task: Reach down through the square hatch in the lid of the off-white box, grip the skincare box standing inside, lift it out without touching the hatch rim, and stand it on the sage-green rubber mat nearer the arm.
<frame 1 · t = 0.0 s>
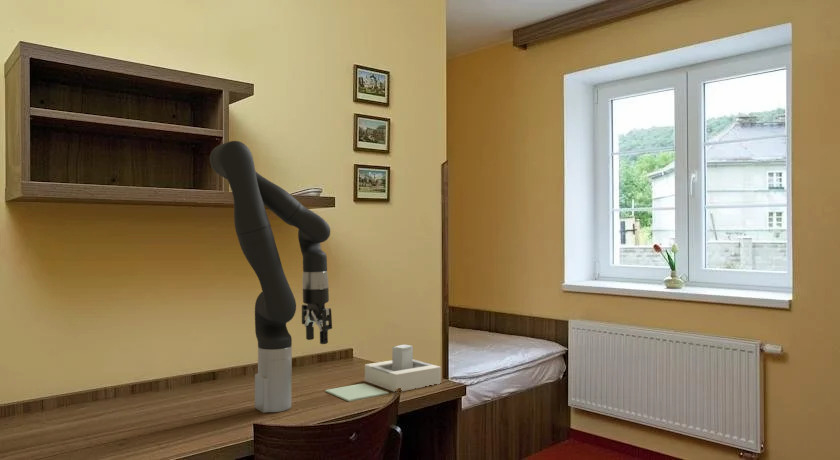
hand: (316, 341, 176), 17 cm above the table, tool pointing down, fingers open, 8 cm apart
access box: (402, 382, 197), on the table
place mat: (356, 392, 184), on the table
skincare box: (402, 383, 197), resting in access box
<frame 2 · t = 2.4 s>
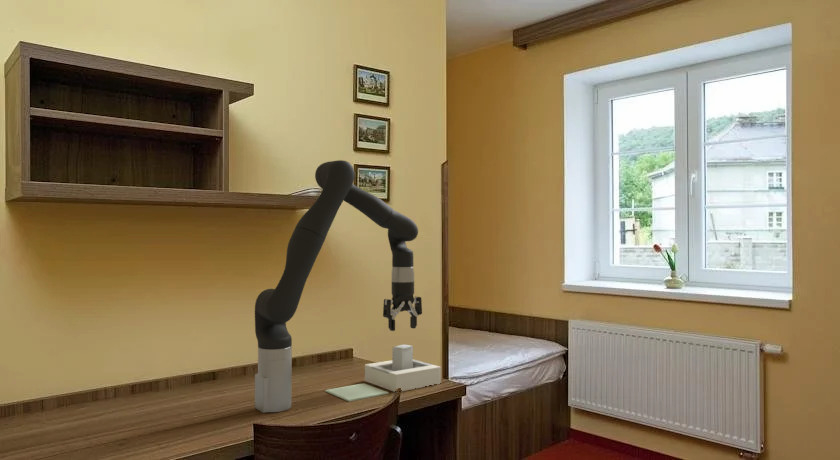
hand: (402, 329, 197), 17 cm above the table, tool pointing down, fingers open, 8 cm apart
nothing on the table moved.
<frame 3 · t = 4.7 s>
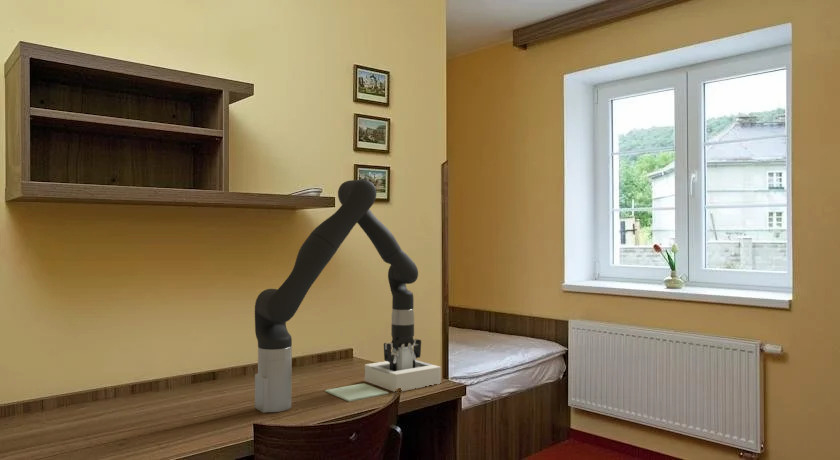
hand: (402, 372, 197), 3 cm above the table, tool pointing down, fingers closed on skincare box, 6 cm apart
skincare box: (402, 382, 197), resting in access box, touching gripper
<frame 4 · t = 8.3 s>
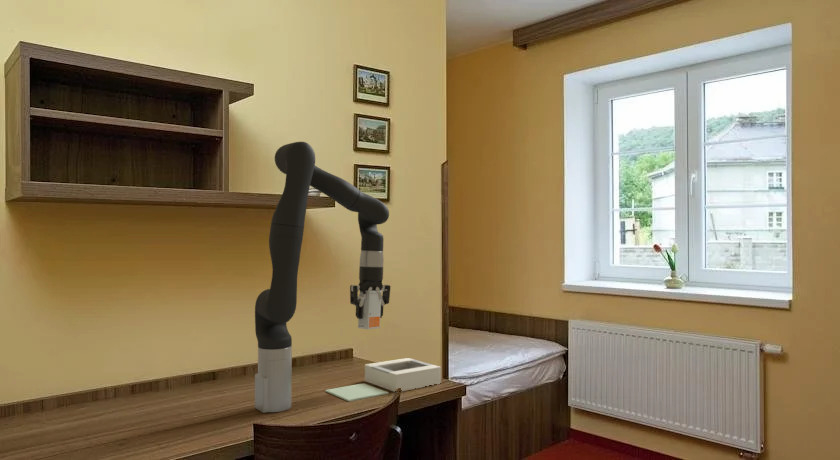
hand: (369, 318, 188), 23 cm above the table, tool pointing down, fingers closed on skincare box, 6 cm apart
skincare box: (369, 328, 188), point 19 cm above the table, touching gripper
when the fingers open (5 cm above the table, at t = 11.7 s): skincare box drops 1 cm, resting on place mat.
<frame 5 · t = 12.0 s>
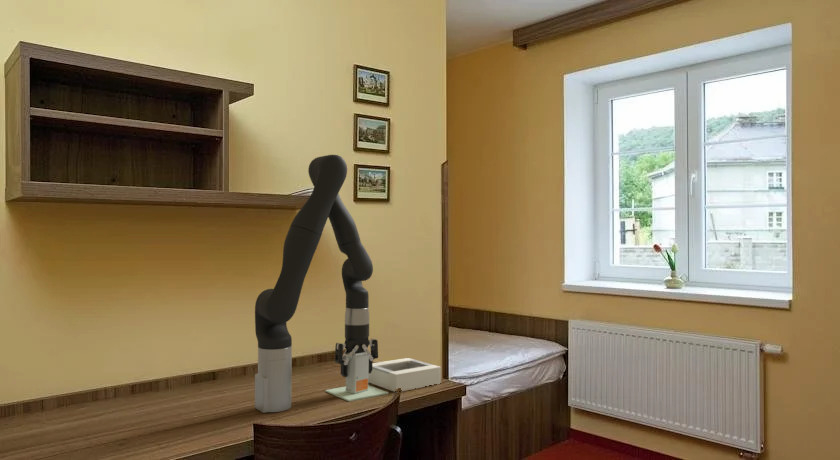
hand: (356, 374, 184), 5 cm above the table, tool pointing down, fingers open, 8 cm apart
skincare box: (357, 391, 184), resting on place mat
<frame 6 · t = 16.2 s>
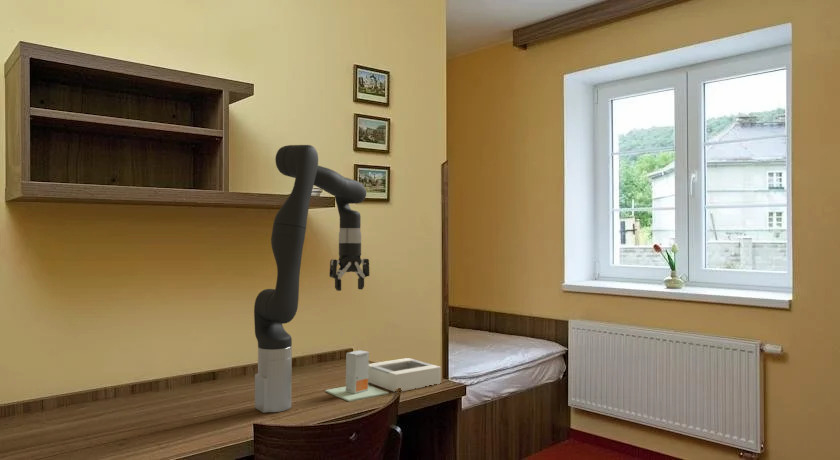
hand: (349, 289, 201), 30 cm above the table, tool pointing down, fingers open, 8 cm apart
nothing on the table moved.
at the end: skincare box inside the target area (0.2 cm from its centre), resting on place mat; skincare box tilted 0°; the gripper is holding nothing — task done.
